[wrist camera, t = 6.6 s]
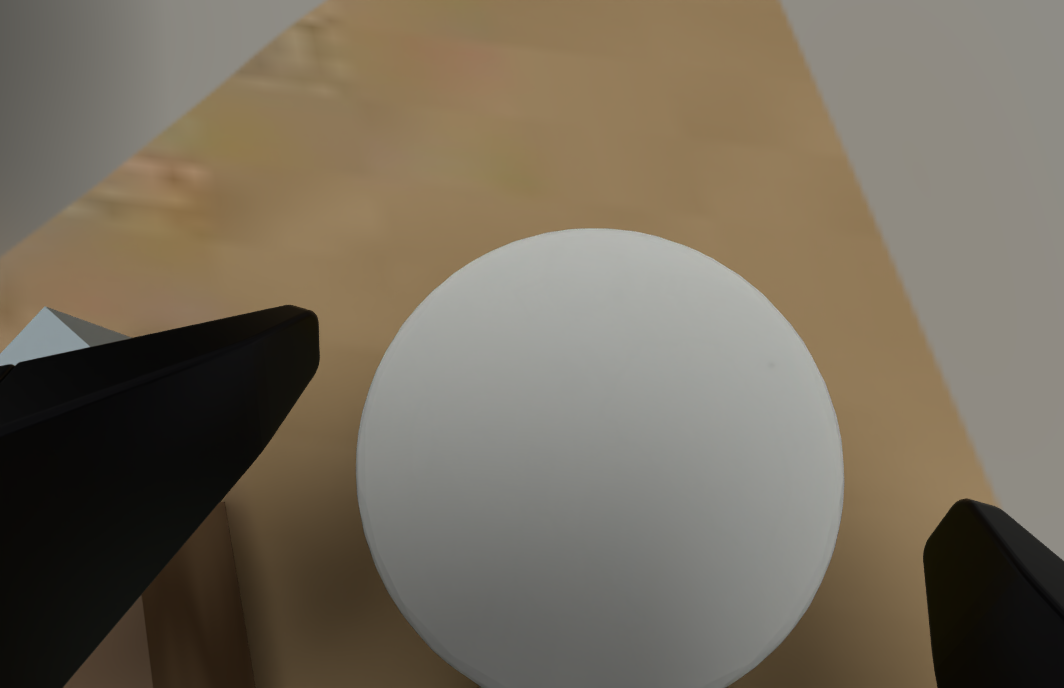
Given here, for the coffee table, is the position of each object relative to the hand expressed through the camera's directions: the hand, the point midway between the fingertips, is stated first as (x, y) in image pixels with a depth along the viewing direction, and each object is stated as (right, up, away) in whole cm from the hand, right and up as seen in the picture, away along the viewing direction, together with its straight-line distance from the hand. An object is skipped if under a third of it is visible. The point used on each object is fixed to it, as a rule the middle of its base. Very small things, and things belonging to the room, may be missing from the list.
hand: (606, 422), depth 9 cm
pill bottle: (0, -3, +8) cm, 9 cm away
